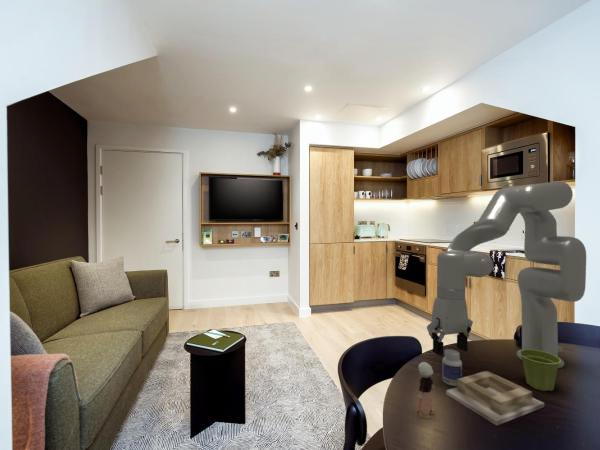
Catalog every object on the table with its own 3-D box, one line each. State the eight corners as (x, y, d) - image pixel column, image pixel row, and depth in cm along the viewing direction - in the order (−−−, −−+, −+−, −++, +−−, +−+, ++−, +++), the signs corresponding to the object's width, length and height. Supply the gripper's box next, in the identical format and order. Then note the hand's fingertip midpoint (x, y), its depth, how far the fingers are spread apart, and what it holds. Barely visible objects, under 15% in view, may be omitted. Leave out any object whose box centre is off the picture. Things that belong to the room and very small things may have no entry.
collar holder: (490, 380, 88) (490, 367, 88) (544, 406, 76) (544, 391, 76) (446, 394, 82) (445, 379, 82) (496, 425, 69) (496, 408, 69)
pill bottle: (465, 387, 85) (464, 356, 85) (445, 385, 86) (444, 355, 86) (459, 378, 90) (458, 348, 90) (440, 376, 91) (440, 347, 91)
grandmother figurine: (420, 404, 77) (420, 355, 77) (436, 409, 75) (436, 359, 75) (413, 420, 71) (412, 367, 71) (430, 426, 69) (429, 371, 69)
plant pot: (561, 399, 79) (560, 366, 79) (517, 386, 85) (517, 356, 85) (562, 385, 86) (561, 355, 86) (521, 374, 92) (521, 346, 92)
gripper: (460, 289, 95) (460, 343, 95) (418, 293, 88) (418, 351, 88) (483, 294, 88) (482, 352, 88) (439, 298, 81) (438, 361, 81)
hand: (450, 351), depth 88 cm, fingers open, 9 cm apart
